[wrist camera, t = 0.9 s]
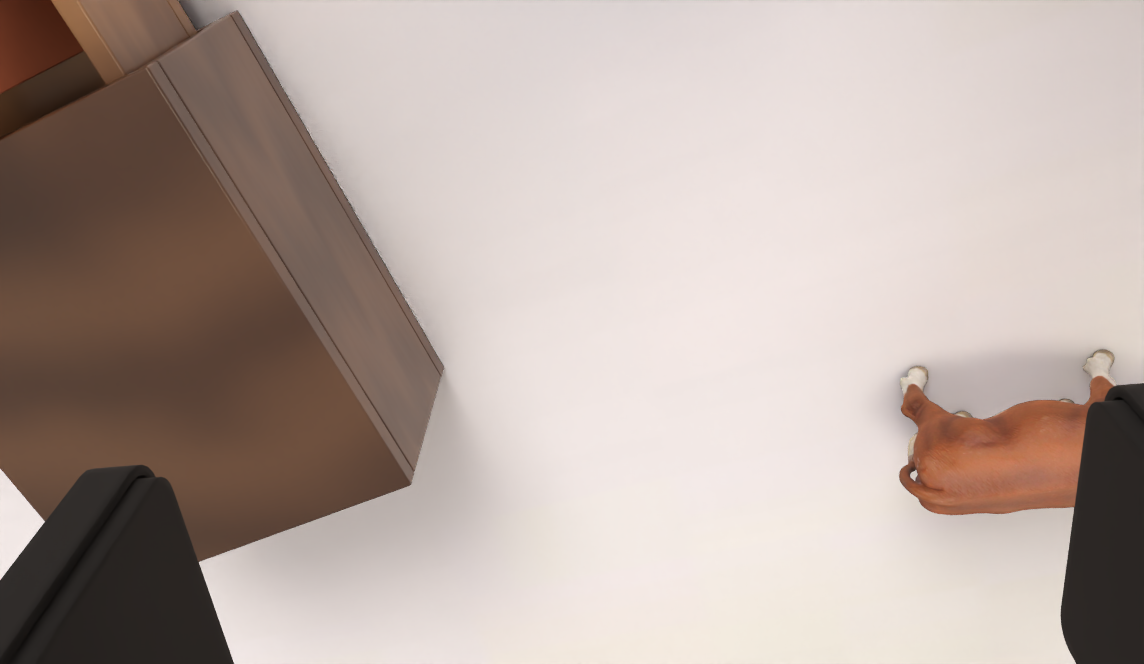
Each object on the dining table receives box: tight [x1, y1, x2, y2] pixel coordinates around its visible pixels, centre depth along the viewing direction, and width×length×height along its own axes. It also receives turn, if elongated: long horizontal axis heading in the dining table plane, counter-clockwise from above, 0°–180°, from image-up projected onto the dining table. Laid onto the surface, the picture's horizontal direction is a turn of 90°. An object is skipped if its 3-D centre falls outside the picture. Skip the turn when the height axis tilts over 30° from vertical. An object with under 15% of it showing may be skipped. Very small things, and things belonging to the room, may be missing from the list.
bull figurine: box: [899, 350, 1117, 515], centre depth 41 cm, size 4×13×8 cm, turn 92°
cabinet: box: [0, 11, 444, 562], centre depth 40 cm, size 17×14×9 cm
